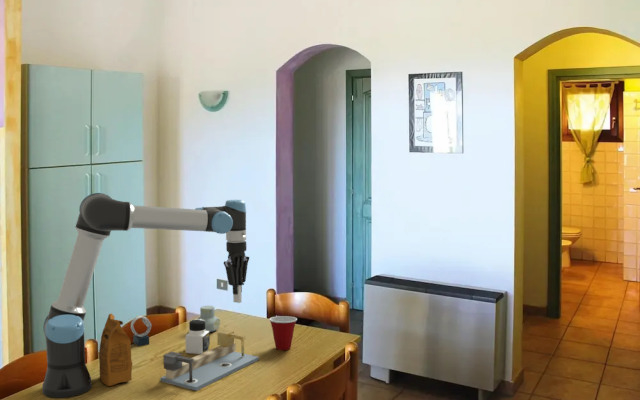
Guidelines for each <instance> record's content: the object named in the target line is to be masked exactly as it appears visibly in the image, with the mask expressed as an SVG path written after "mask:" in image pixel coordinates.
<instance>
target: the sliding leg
mask: <svg viewBox="0 0 640 400" xmlns="http://www.w3.org/2000/svg"><path fill="white" fill-rule="evenodd" d="M234 332H235V331H232V330H228V329H222V330H219V331H218V332H216V333H217V338H216V339H217V346H225V347H228V346H231V345H233V344H234V343H235V339H236V340H240V341H241V343H240V344H241V348H240V349H241V352H240V353H241V354H242V356H244V354H245V340H246V335H245V334H244V335H243V334H239V333H234Z"/></svg>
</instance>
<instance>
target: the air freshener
mask: <svg viewBox="0 0 640 400" xmlns="http://www.w3.org/2000/svg"><path fill="white" fill-rule="evenodd" d="M199 310H200V316H199V317H198V318H197V319H202V320H204V321H205V331H209V333H211V332H212V333H213V332H215V331H216V330H218V329H219V327H220V325H221V319H220V318H219V317H218V316H216V312H215V307H214V306H213V305H203V306H201V307H200V309H199Z"/></svg>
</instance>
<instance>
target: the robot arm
mask: <svg viewBox="0 0 640 400" xmlns="http://www.w3.org/2000/svg"><path fill="white" fill-rule="evenodd" d="M77 217H78V218H77V219H76V220H77V221H76V223H75V226H74V227H75V229H76V231H77V235H76V239H75V243H74V246H73V249H72V253H71V256H70V259H69V263H68V265H67V269H66V272H65V275H64V278H63V282H62V285H61V289H60V292H59V295H58V299H57V300H55V301H54V302H52V303H51V305H50V309H49V311H48V314H47V316H46V317H45V319H44V321H43V326H42V327H43V334H44V336H45V346H46V347H45V348H46V363H47V365H46V367H47V368H46V372H45V376H44V381H43V383H42V386H41V388H42V394H43V395H44V396H46V397H47V398H49V397H50V398H59V399H60V398H61V399H62V398H63V399H65V398H70V397H76V396H80V395H82V394H84V393H86V392H88V391H90V390H91V389H92V387H93V385H92V376H91V374H90V372H89V370H88V367H87V365H86V351H85V350H86V349H85V346H86V345H85V323H84V321H85V316H86V313H87V310H86V308H85V306H84V304H85V301H86V298H87V295H88V291H89V288H90V285H91V281H92V278H93V275H94V272H95V268H96V266H97V262H98V259H99V256H100V252H101V248H102V246H103V242H104V240H105V239H108V238H109V237H110V235H111V232H112V231H114V232H115V231H123V232H124V231H125V232H126V231H127V232H128V231H130V230H131V229H146V230H147V229H150V230H168V231H169V230H170V231H171V230H172V231H189V232H190V231H194V232H209V233H210V232H211V233H216V234H219V235H223V234H226V235H225V240H226V244H225V245H226V248H225V249H226V252H227V253H228V255H227V260H226V261H225V260H224V261H223V265H224V267H225V268H224V269H225V272H226V273H225V274H226V277H227V284H228V285H230V286H231V287H232V294H233V297H232V298H233V300H232V301H233V303H237V304H240V303H242V293H243V292H242V291H243V286H244V285H245V282H246V279H247V273H248V264H249V261H250V256H247V255H246V253H245V252H247V241H246V240H247V206H246V202H245V201H244V200H242V199H227V200H226V201H225V204H224V205H222V206H202V207H196V208H192V209H191V208H180V207H165V206H164V207H162V206H151V205H150V206H146V205H134V204H132V203H131V202H130V201H121V200H117V199H113V197H111V196H110V195H108V194H105V193H102V192H94V193H90V194H88V195H86V197H84V198H83V200H82V201H81V202H80V205H79V214H78V216H77Z"/></svg>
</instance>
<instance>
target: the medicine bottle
mask: <svg viewBox="0 0 640 400" xmlns="http://www.w3.org/2000/svg"><path fill="white" fill-rule="evenodd" d="M188 324H189V326H188V328H189V332H188V333H187V334H185V353H186V354H193V355H200V354H202V353H205V352H207V351H209V349H210V348H211V345H210V344H211V342H210V340H211V339H210V338H211V337H210V332H209V331H205V321H204V320H202V319H198V318H196V319H195V318H194V319H192V320H189V323H188Z"/></svg>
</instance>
